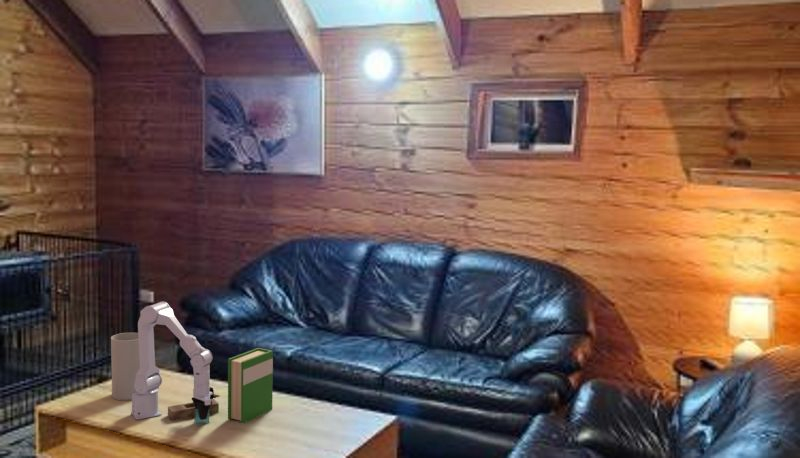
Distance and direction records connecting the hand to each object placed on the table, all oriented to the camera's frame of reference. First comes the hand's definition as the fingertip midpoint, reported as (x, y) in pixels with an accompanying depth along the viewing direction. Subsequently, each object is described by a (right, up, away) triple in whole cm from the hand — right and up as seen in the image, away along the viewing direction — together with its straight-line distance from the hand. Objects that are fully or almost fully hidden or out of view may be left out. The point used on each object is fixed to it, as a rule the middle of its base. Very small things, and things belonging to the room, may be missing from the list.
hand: (201, 417), depth 269 cm
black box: (-5, +1, +26) cm, 27 cm away
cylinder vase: (-37, +2, +26) cm, 45 cm away
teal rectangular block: (0, -2, 0) cm, 2 cm away
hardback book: (+16, -2, +10) cm, 19 cm away
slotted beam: (-6, -1, +9) cm, 10 cm away
